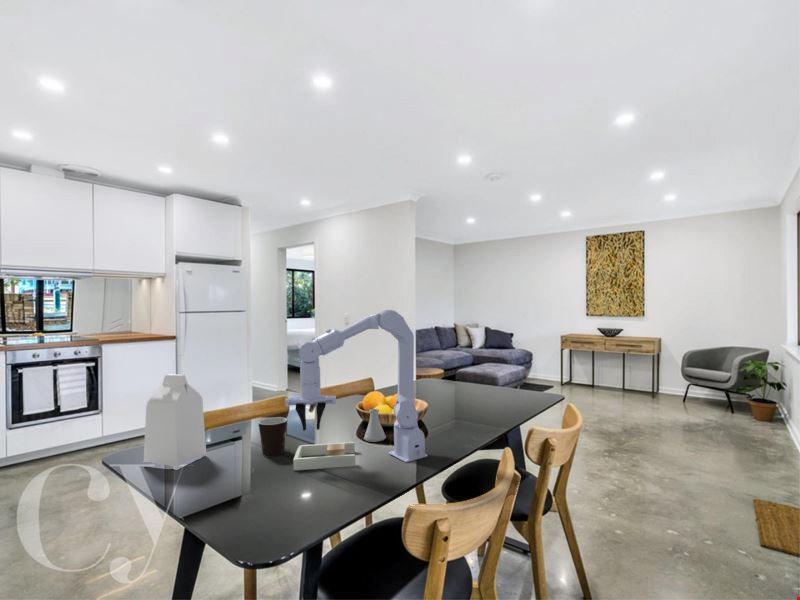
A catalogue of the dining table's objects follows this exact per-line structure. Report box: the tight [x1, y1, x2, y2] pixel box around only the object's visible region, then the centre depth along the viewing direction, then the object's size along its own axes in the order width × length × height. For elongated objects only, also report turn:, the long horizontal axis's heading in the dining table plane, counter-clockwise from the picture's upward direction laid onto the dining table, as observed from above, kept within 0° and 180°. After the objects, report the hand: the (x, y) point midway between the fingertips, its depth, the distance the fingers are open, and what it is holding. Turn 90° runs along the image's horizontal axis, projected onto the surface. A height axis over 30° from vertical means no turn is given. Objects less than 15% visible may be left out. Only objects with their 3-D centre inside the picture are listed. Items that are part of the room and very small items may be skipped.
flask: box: [363, 408, 387, 443], centre depth 138 cm, size 7×7×10 cm
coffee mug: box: [258, 416, 288, 457], centre depth 128 cm, size 12×9×10 cm
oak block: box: [326, 442, 346, 456], centre depth 120 cm, size 5×5×4 cm
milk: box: [143, 373, 207, 466], centre depth 122 cm, size 12×12×26 cm
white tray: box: [292, 441, 356, 471], centre depth 119 cm, size 17×12×3 cm
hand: (311, 429), depth 119 cm, fingers open, 3 cm apart
